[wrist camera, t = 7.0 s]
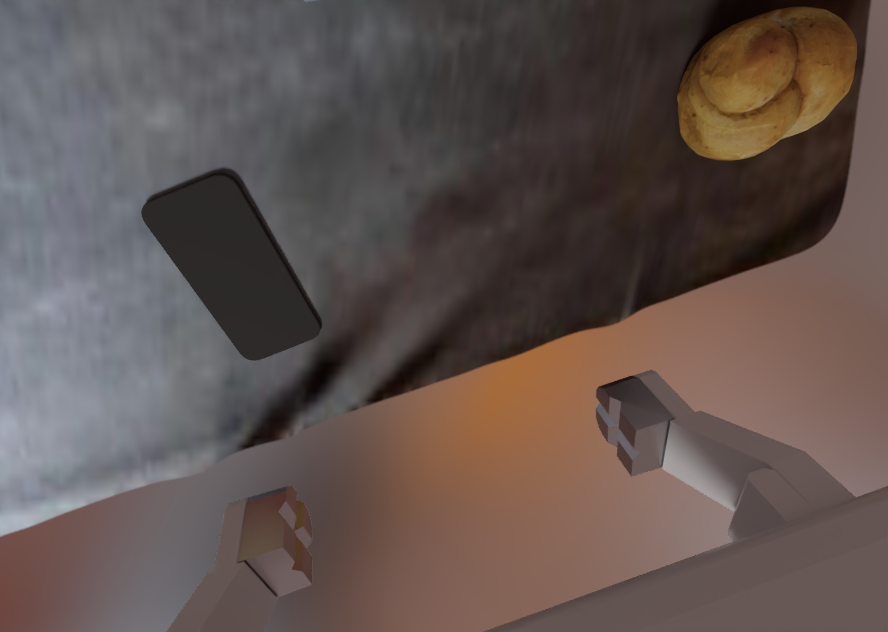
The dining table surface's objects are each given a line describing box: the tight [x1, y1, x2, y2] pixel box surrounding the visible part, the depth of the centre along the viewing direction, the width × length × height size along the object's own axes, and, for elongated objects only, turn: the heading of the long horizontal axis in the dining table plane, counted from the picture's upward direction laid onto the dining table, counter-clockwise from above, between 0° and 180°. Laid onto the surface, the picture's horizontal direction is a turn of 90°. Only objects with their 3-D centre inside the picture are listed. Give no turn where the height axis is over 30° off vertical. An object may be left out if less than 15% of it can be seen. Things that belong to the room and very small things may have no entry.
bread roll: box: [677, 7, 857, 160], centre depth 33 cm, size 13×10×8 cm
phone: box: [142, 173, 320, 360], centre depth 36 cm, size 7×1×15 cm
